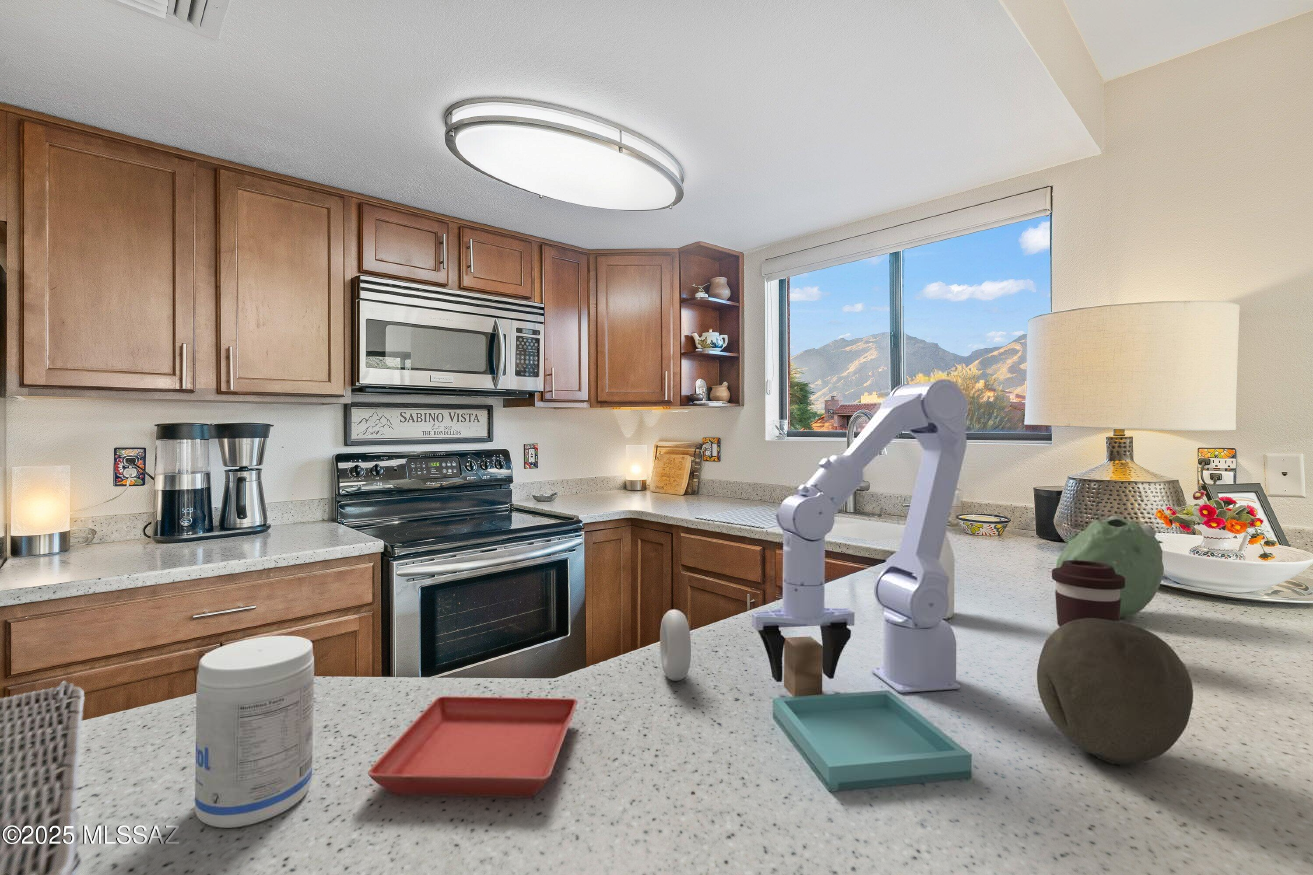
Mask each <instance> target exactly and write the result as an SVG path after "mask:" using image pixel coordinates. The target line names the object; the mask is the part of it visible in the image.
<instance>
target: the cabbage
mask: <svg viewBox="0 0 1313 875" xmlns="http://www.w3.org/2000/svg"><path fill="white" fill-rule="evenodd" d="M1075 534H1076V537H1075V535H1074V534H1070V536H1068V537H1067V542H1068V543H1067V545H1065V546H1064V549H1063V550H1062V551H1061V553H1060V555H1059V557H1058V558H1057V561H1056V565H1055V566H1056V567H1055V568H1059V567H1061V565H1062V563H1063V562H1064V561H1067V560H1084V561H1093V562H1099V563H1104V564H1108V565H1110V566H1112V567H1113V568H1114V570H1115V573H1116V574H1119V575H1121V576H1123V577H1124V578H1125V587H1124V588H1123V589H1120V599H1121V606H1120V616H1119V617H1120V618H1125V617H1128V616H1133V615H1135V614H1137V613H1139V612H1141V611H1142V610H1143V609H1145V607H1146V606H1147V605H1148V604H1150V602H1151V601H1152V600H1153V598H1154V597H1155V596H1156V594H1157V592H1158V590H1159V588H1160V585H1161V582H1162V580H1163V576H1164V572H1165V567H1164V564H1163V563H1164V562H1163V552H1164V551H1163V549H1162V545H1161V544H1164V541H1161V540H1158V539H1157V538H1156V535H1157V531H1156V530H1155V528H1154V527H1152V526H1150V525H1148V524H1140V523H1138V522H1136V521H1129V520H1128V519H1126V518H1123V517H1121V516H1119V515H1110V516H1109V517H1108V518H1107V519H1106V518H1105V519H1103V520H1099V519H1094V520H1093V521H1092V522H1091V523H1089V524H1088V526H1087V527H1085V529H1084V530H1083V531H1080V532H1076V533H1075Z"/></svg>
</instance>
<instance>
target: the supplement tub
mask: <svg viewBox="0 0 1313 875" xmlns="http://www.w3.org/2000/svg"><path fill="white" fill-rule="evenodd" d="M314 656H315V655H314V650H313V642H312V641H311V640H309V639H307V638H305V637H301V636H296V635H271V636H262V637H254V638H250V639H244V640H243V639H242V640H239V641H236V642H231V643H229V644H225V645H223V646H220V647H217V648H215V649H213V650H210V651H208V652H207V653H205V655H203V656H202V657H201V658H200V659H199V661H198V673H197V675H196V680H197V681H196V691H195V692H196V694H195V696H196V697H195V700H196V701H195V704H196V705H195V763H194V764H195V768H194V769H195V774H194V775H195V777H194V778H195V779H194V781H195V782H194V786H195V787H194V811H195V815H196V817H197V818H198V819H199V820H200V821H201V822H202V823H204V824H206V825H209V826H211V827H215V828H225V829H227V828H228V829H229V828H238V827H239V828H240V827H245V826H250V825H254V824H257V823H260V822H263V821H266V820H268V819H271V818H273V817H276V816H278V815H281V814H282V813H284V812H285V811H287V810H289V809H291V808H292V807H294V806H295V805H296V804H297V803H298V802H299V801H301V799H303V797H304V796H305V795H306V794H307V793H308V791H309V789H310V787H311V785H312V781H313V761H314V760H313V759H314V756H313V755H314V754H313V752H314V748H313V747H314V706H315V704H314V702H315V701H314V699H315V696H314V694H315V689H314V688H315V657H314Z"/></svg>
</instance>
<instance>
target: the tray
mask: <svg viewBox="0 0 1313 875" xmlns="http://www.w3.org/2000/svg"><path fill="white" fill-rule="evenodd" d="M772 719H773V720H774V722H775V723H776V724H777V725H778V726H779V728H780V729H781V731H783V734H785V736H786V737H787V739H789V741H790V742H791V744H792V745H793V746H794V747H795V749H796V751H797V752H798V753H799V754H800V756H801V757H802V758H803V759H804V761H805V762H806V764H808V765H807V766H809V767H810V769H811V770H812V771H813V773H814V774H815V775H816V777H817V778H818V779H819V780H820V782H821V783H822V784H823V786H824V787H825V789H826V790H827V791H828V792H836V791H848V790H850V791H851V790H857V789H869V788H878V787H879V788H880V787H890V786H900V785H911V784H919V783H921V784H923V783H933V782H934V783H935V782H942V781H953V780H955V781H956V780H963V779H964V780H965V779H972V774H973V773H972V766H973V765H972V763H973V761H972V760H973V759H972V758H973V755H972V753H971V752H969V751H968V750H967V749H965V747H963V746H962V745H960V744H959V743H958V742H956V740H954V739H953V738H951V737H950V736H948V734H946V733H945V732H944V731H943V730H941V729H940V728H938V727H937V726H936V725H934V724H933V723H932V722H930V721H929V720H928V719H926V717H924V716H923V715H922V714H920V713H919V712H918V711H916V710H915V709H914V708H912V707H911V706H910V705H908V703H906V702H905V701H904V700H902V699H901V698H900V697H898V696H897V695H896V694H894V692H892V691H890V690H888V689H887V690H876V691H875V690H874V691H873V690H871V691H859V692H844V693H842V692H841V693H828V694H827V693H826V694H822V695H811V696H796V697H793V696H786V697H785V696H783V697H782V696H781V697H773V698H772Z"/></svg>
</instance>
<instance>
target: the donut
mask: <svg viewBox="0 0 1313 875" xmlns="http://www.w3.org/2000/svg"><path fill="white" fill-rule="evenodd" d="M688 622H689V621H688V619H687V617H686V615H685V613H683V612H682V611H680V610H678V609H674V608H673V609H670V610H668V611H666V613H665V614H664V615H663V617H662V618H661V623H660V630H659V650H660V661H661V666H662V670H663V673H664V674H665V676H666V677H667V678H668V679H669V680H671V681H673V682H674V681H675V682H677V681H678V682H679V681H681V680H682V679H685V677H686V676H687V675H688V674H689V670H690V667H691V662H692V660H691V659H692V641H691V631H690V627H689V623H688Z"/></svg>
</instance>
